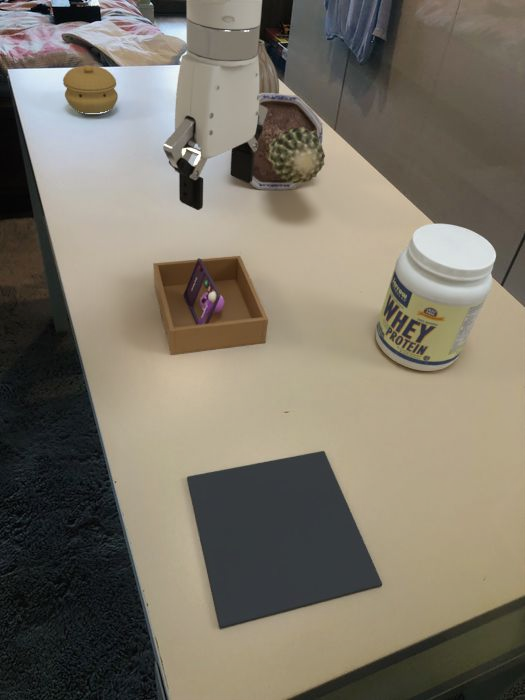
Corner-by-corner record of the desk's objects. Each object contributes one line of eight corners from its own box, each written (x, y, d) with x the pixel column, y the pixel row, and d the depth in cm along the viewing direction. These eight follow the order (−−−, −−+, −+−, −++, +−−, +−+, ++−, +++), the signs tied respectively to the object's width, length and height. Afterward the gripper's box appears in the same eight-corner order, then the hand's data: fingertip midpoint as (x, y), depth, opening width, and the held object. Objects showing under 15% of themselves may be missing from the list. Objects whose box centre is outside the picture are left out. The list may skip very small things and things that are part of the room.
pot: (65, 102, 133) (58, 57, 126) (115, 101, 136) (111, 57, 129) (68, 121, 125) (61, 74, 118) (122, 120, 128) (118, 74, 121)
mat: (219, 629, 49) (220, 627, 49) (186, 479, 60) (186, 476, 60) (381, 586, 53) (382, 584, 53) (323, 453, 64) (324, 450, 64)
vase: (213, 112, 136) (216, 33, 124) (261, 108, 141) (268, 31, 129) (234, 133, 128) (239, 51, 116) (284, 128, 133) (294, 49, 121)
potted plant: (220, 83, 109) (256, 101, 84) (306, 90, 114) (364, 108, 89) (217, 174, 118) (248, 215, 93) (297, 177, 122) (347, 216, 97)
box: (170, 355, 74) (170, 331, 71) (154, 286, 84) (153, 263, 81) (265, 342, 77) (268, 319, 74) (238, 278, 88) (240, 255, 85)
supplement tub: (356, 340, 79) (384, 239, 68) (404, 306, 86) (438, 209, 74) (428, 388, 74) (472, 287, 62) (474, 348, 80) (521, 250, 69)
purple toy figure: (193, 256, 79) (213, 294, 73) (225, 262, 81) (247, 299, 75) (178, 294, 82) (196, 333, 76) (209, 298, 85) (229, 336, 79)
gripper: (245, 20, 64) (236, 161, 76) (136, 45, 54) (145, 205, 65) (298, 35, 61) (280, 179, 73) (194, 66, 51) (193, 229, 62)
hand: (217, 191), depth 69 cm, fingers open, 9 cm apart
